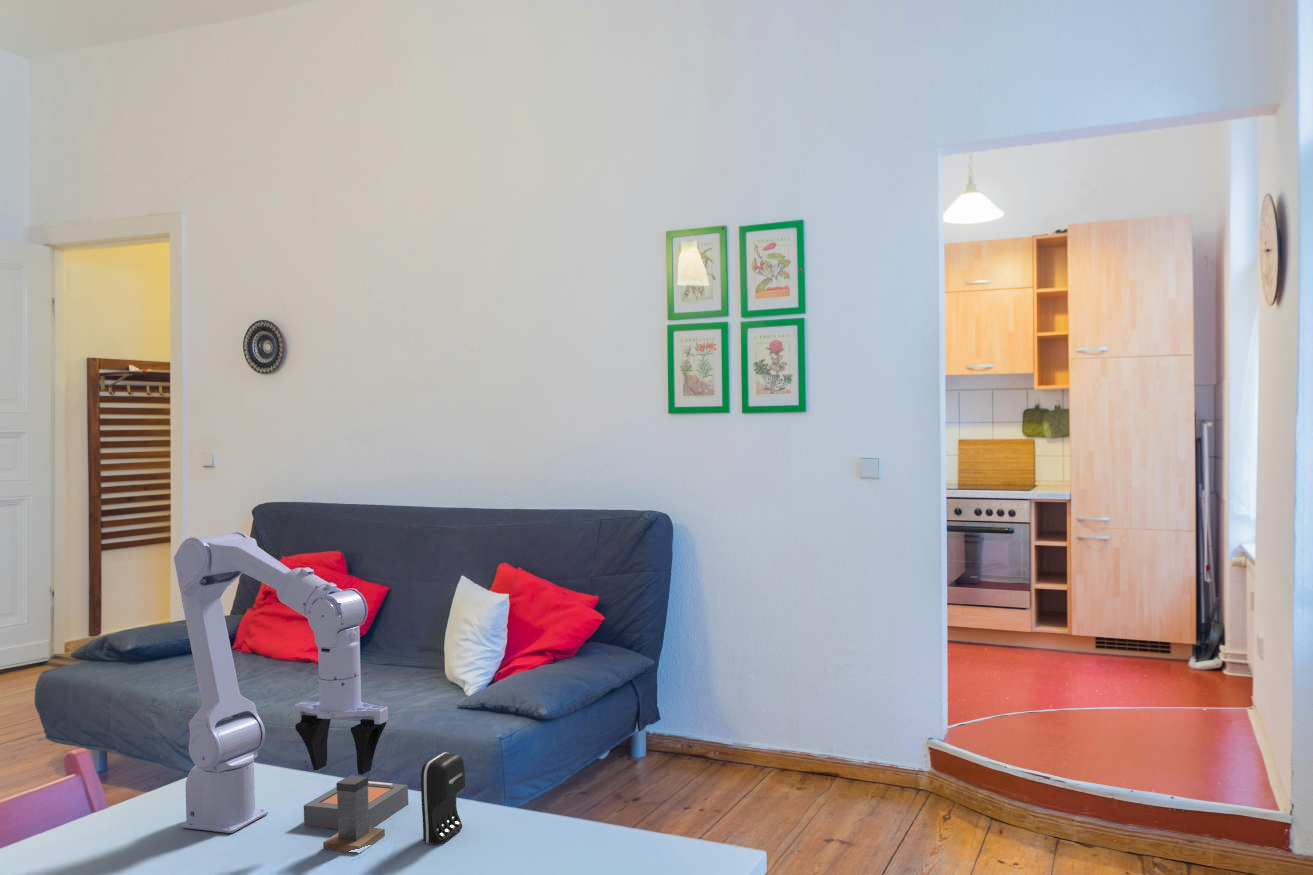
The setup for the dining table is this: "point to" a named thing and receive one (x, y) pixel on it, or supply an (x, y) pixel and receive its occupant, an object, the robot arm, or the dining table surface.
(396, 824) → the dining table surface
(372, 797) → the button
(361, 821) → the grey rectangular block
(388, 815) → the tray
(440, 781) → the battery charger
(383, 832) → the walnut pad
